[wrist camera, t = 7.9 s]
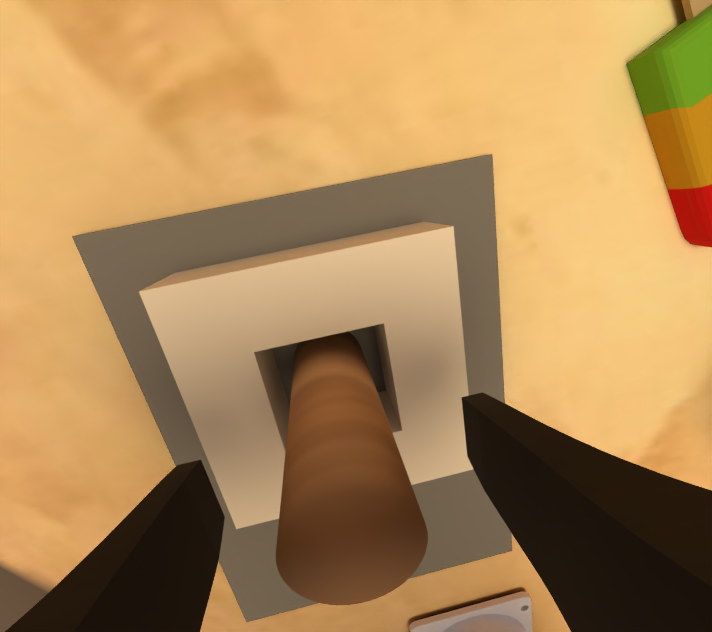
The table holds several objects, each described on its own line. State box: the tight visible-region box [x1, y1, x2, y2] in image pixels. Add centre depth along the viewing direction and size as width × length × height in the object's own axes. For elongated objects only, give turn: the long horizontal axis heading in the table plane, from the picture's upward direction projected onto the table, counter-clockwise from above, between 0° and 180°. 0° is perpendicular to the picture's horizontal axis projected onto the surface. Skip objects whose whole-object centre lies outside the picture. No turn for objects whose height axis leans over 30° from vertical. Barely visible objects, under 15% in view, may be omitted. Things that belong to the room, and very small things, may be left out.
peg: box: [276, 331, 428, 605], centre depth 11 cm, size 3×3×9 cm
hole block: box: [139, 222, 473, 529], centre depth 14 cm, size 10×10×3 cm
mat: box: [72, 154, 512, 622], centre depth 17 cm, size 22×16×1 cm
